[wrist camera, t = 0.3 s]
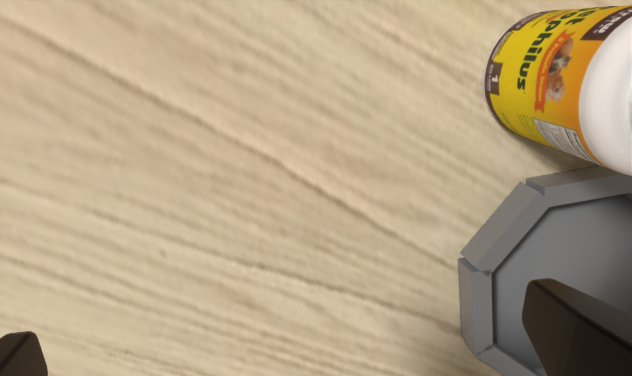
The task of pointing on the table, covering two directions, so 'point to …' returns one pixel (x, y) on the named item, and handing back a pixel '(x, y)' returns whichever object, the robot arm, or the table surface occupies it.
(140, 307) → the table surface
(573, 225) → the dish
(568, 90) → the supplement bottle
